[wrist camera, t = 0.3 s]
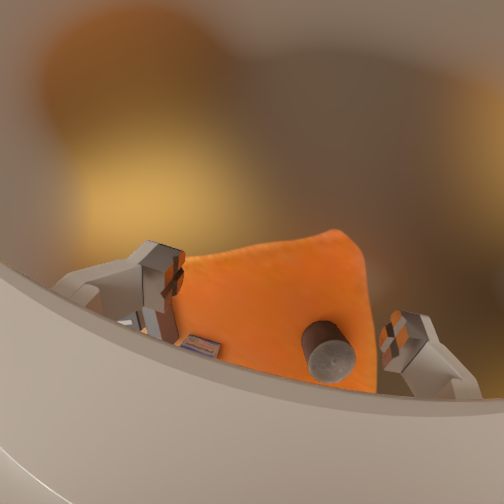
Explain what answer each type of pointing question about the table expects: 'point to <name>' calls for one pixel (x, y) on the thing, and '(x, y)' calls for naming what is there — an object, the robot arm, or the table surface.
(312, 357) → the pillar candle
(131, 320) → the block
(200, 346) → the medicine box
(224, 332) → the table surface
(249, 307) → the table surface
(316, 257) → the table surface
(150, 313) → the bay
